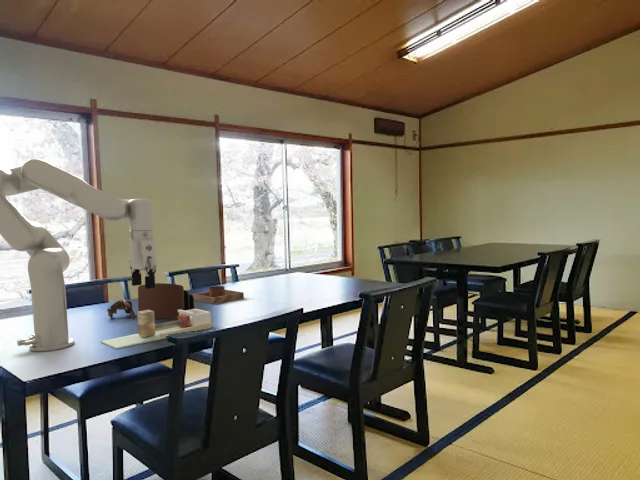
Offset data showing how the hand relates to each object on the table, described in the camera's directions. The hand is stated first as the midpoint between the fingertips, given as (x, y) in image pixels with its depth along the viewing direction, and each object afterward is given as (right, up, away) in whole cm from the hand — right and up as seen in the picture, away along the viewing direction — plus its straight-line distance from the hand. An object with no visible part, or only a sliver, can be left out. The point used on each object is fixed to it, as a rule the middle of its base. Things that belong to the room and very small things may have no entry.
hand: (143, 286), depth 163 cm
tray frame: (+11, -13, +68) cm, 70 cm away
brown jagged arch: (-21, -16, +35) cm, 44 cm away
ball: (+13, -14, +13) cm, 23 cm away
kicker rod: (+5, -16, +6) cm, 18 cm away
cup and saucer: (+10, -13, +68) cm, 70 cm away
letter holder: (-3, -16, +36) cm, 39 cm away
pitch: (+4, -17, +4) cm, 18 cm away
